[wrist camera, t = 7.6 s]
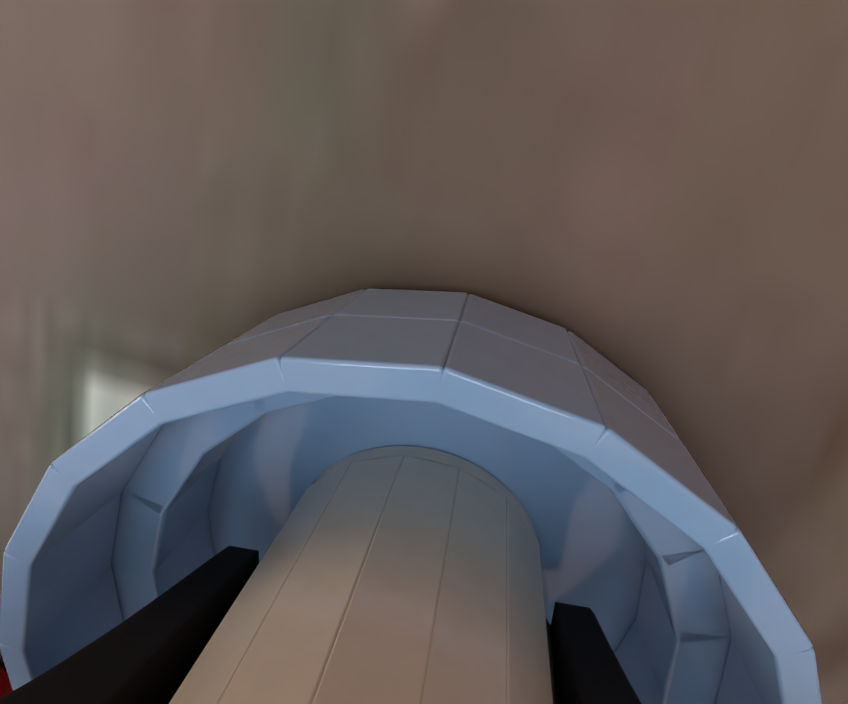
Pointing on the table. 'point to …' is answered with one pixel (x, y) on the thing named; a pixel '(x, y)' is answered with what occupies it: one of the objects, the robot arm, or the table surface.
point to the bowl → (424, 427)
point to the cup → (389, 595)
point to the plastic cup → (4, 683)
